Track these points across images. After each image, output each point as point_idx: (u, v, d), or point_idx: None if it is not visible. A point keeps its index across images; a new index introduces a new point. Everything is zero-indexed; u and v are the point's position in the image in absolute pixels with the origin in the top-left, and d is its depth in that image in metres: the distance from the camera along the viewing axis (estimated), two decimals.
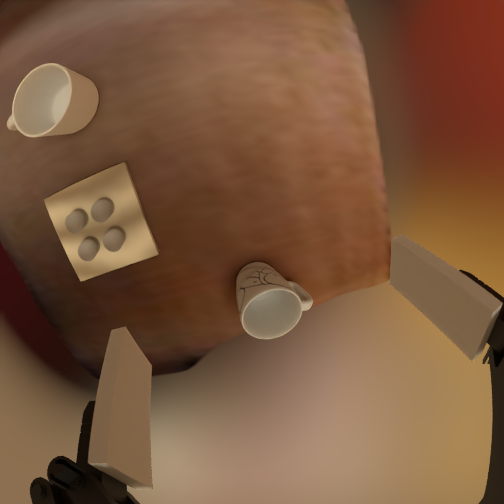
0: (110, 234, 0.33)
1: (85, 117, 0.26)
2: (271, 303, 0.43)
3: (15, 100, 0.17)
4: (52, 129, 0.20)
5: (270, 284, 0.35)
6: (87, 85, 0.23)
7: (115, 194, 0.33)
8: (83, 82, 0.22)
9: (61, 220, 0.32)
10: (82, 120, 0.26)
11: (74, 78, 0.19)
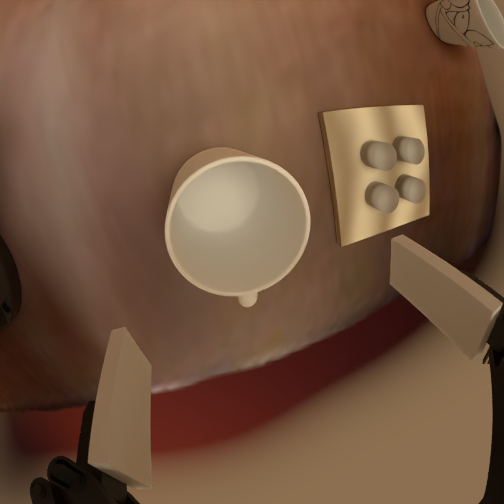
0: (409, 150, 0.23)
1: None
2: None
3: (225, 290, 0.17)
4: None
5: (470, 2, 0.11)
6: (206, 153, 0.18)
7: (359, 134, 0.24)
8: (204, 156, 0.17)
9: (370, 222, 0.28)
10: None
11: (208, 160, 0.14)
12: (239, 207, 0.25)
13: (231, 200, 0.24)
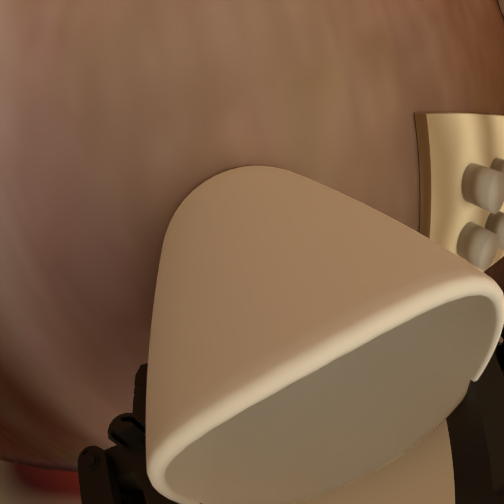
0: None
1: None
2: None
3: (292, 499, 0.06)
4: None
5: None
6: (243, 191, 0.07)
7: (463, 154, 0.13)
8: (245, 207, 0.06)
9: None
10: None
11: (291, 270, 0.03)
12: None
13: None
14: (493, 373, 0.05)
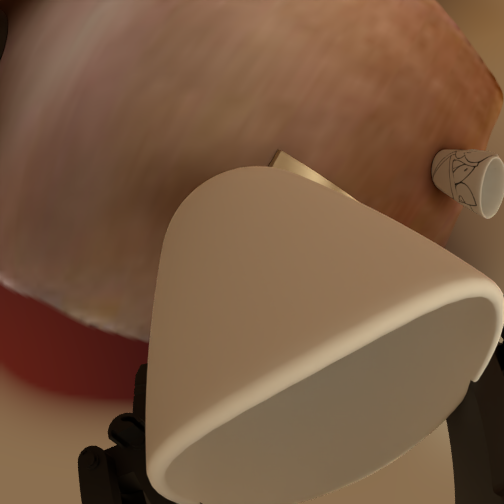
0: None
1: None
2: None
3: (292, 499, 0.06)
4: None
5: (481, 162, 0.23)
6: (243, 192, 0.07)
7: None
8: (245, 208, 0.06)
9: None
10: None
11: (291, 271, 0.03)
12: None
13: None
14: (493, 373, 0.05)
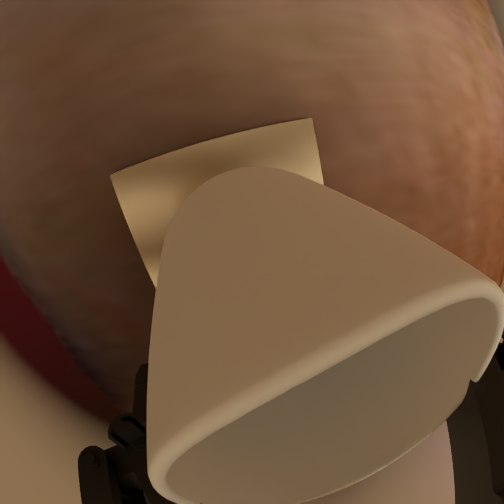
0: None
1: None
2: None
3: (293, 499, 0.06)
4: None
5: None
6: (244, 192, 0.07)
7: None
8: (246, 208, 0.06)
9: (151, 221, 0.18)
10: None
11: (293, 273, 0.03)
12: None
13: None
14: (493, 373, 0.05)
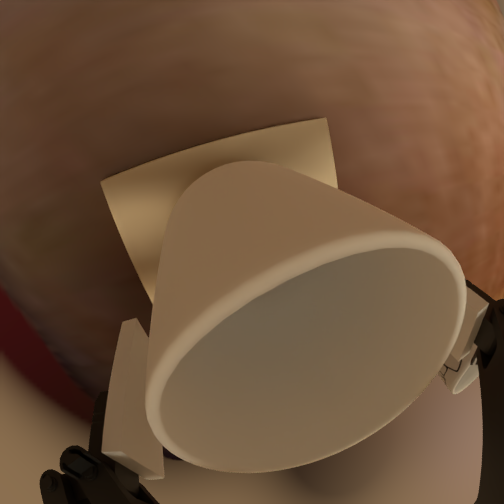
0: None
1: None
2: None
3: (280, 464, 0.07)
4: None
5: None
6: (235, 180, 0.08)
7: None
8: (235, 190, 0.07)
9: (147, 234, 0.16)
10: None
11: (262, 226, 0.05)
12: None
13: None
14: None
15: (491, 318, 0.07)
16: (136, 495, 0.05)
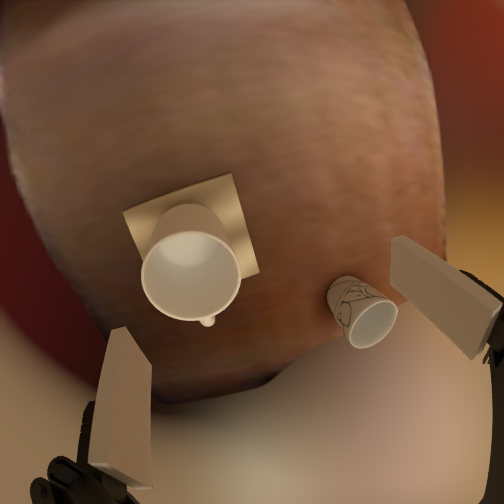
0: None
1: (212, 216, 0.27)
2: None
3: (185, 317, 0.23)
4: (235, 255, 0.22)
5: (376, 297, 0.34)
6: (172, 216, 0.25)
7: (218, 208, 0.33)
8: (169, 221, 0.24)
9: (146, 236, 0.32)
10: (216, 219, 0.27)
11: (166, 231, 0.21)
12: (205, 248, 0.32)
13: (199, 243, 0.31)
14: None
15: None
16: None
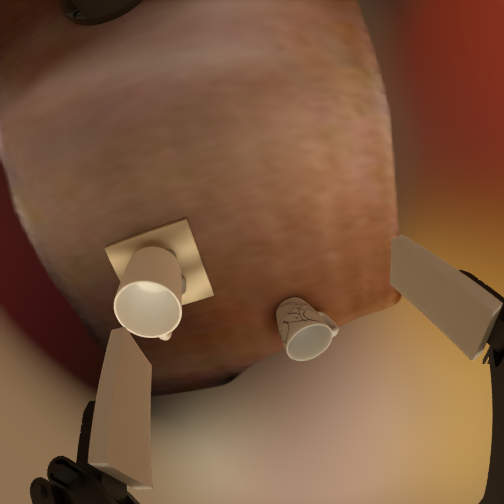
0: None
1: (167, 260, 0.35)
2: (304, 330, 0.51)
3: (145, 334, 0.31)
4: (176, 296, 0.30)
5: (310, 320, 0.43)
6: (136, 261, 0.33)
7: (177, 246, 0.41)
8: (133, 267, 0.32)
9: (123, 267, 0.40)
10: (170, 262, 0.35)
11: (129, 278, 0.29)
12: None
13: None
14: None
15: None
16: None
